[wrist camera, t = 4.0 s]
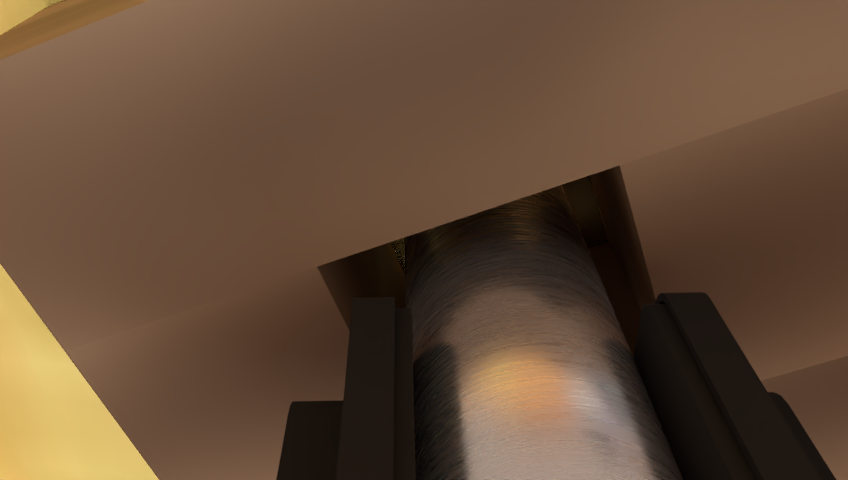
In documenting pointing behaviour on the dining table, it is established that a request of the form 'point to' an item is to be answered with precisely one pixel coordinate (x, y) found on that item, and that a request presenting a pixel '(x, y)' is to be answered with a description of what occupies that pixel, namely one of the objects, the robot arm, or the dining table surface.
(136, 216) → the walnut block
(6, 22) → the dining table surface
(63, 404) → the dining table surface
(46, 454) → the dining table surface
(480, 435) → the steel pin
